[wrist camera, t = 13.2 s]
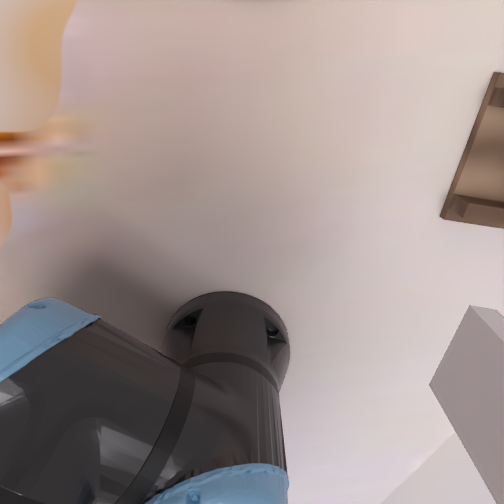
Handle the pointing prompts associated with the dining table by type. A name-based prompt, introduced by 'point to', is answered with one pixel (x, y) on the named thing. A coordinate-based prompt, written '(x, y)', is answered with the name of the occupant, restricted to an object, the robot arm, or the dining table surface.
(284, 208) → the dining table surface
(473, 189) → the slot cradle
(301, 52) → the dining table surface
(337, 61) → the dining table surface
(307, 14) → the dining table surface
